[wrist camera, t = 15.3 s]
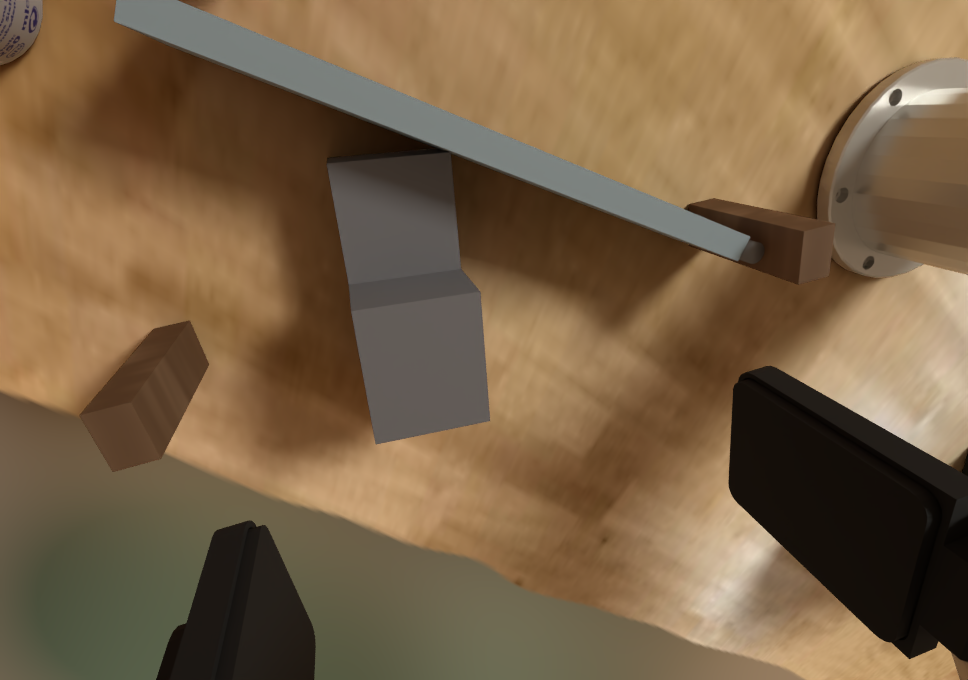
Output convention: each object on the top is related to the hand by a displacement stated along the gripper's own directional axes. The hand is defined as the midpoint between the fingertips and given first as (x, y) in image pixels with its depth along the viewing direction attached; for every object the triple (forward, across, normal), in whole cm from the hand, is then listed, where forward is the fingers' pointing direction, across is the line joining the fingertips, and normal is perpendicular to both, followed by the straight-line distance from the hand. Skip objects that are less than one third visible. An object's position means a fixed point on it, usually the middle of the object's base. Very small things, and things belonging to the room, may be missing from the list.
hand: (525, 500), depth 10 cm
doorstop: (+18, 0, 0) cm, 18 cm away
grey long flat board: (+18, -4, -5) cm, 19 cm away
